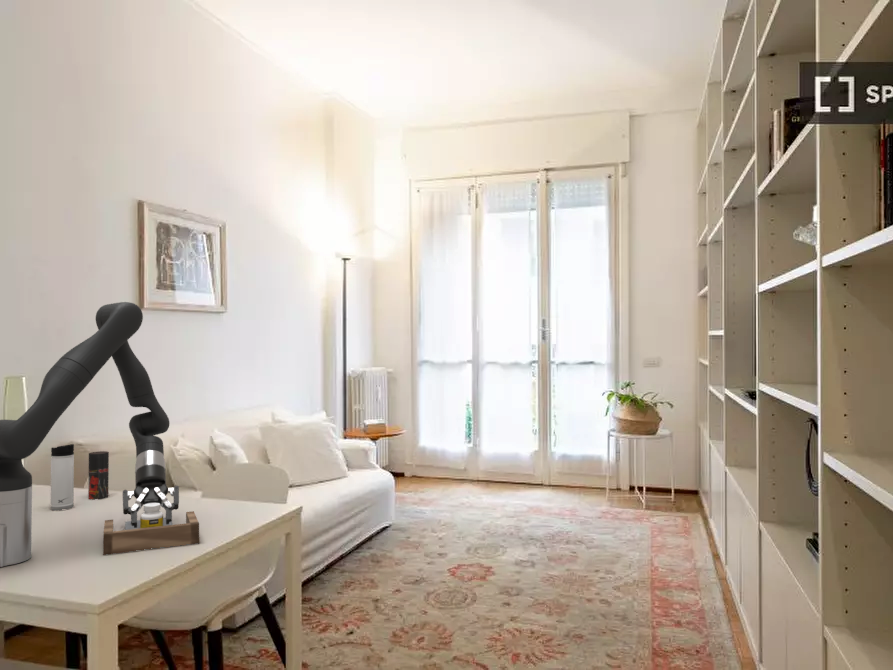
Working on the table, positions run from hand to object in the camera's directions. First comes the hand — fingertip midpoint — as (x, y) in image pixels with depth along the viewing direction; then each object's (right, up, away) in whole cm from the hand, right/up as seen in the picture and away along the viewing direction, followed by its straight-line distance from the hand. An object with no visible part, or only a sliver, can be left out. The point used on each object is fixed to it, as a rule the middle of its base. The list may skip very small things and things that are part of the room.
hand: (151, 524), depth 171 cm
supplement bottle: (-1, -5, +1) cm, 5 cm away
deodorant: (-41, -6, +52) cm, 66 cm away
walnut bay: (-1, -5, +1) cm, 5 cm away
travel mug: (-44, -6, +37) cm, 58 cm away
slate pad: (-8, -5, +17) cm, 19 cm away
